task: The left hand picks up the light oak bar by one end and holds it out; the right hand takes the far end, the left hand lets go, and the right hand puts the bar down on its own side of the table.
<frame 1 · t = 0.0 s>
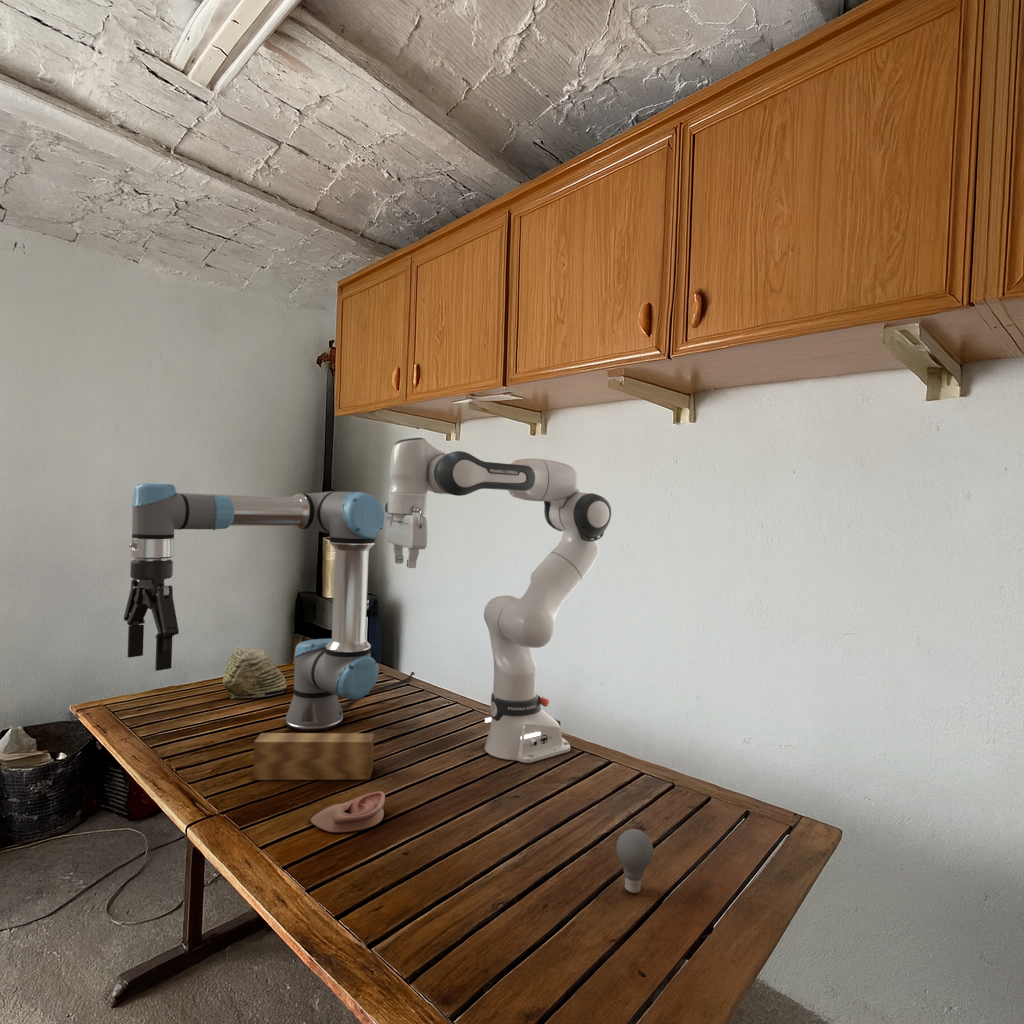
left hand: (148, 662, 129), 28 cm above the table, tool pointing down, fingers open, 13 cm apart
right hand: (404, 565, 149), 48 cm above the table, tool pointing down, fingers open, 8 cm apart
light bulb: (632, 891, 106), on the table
bar: (314, 774, 144), on the table
fossil: (254, 694, 198), on the table
anatomical model: (348, 819, 125), on the table
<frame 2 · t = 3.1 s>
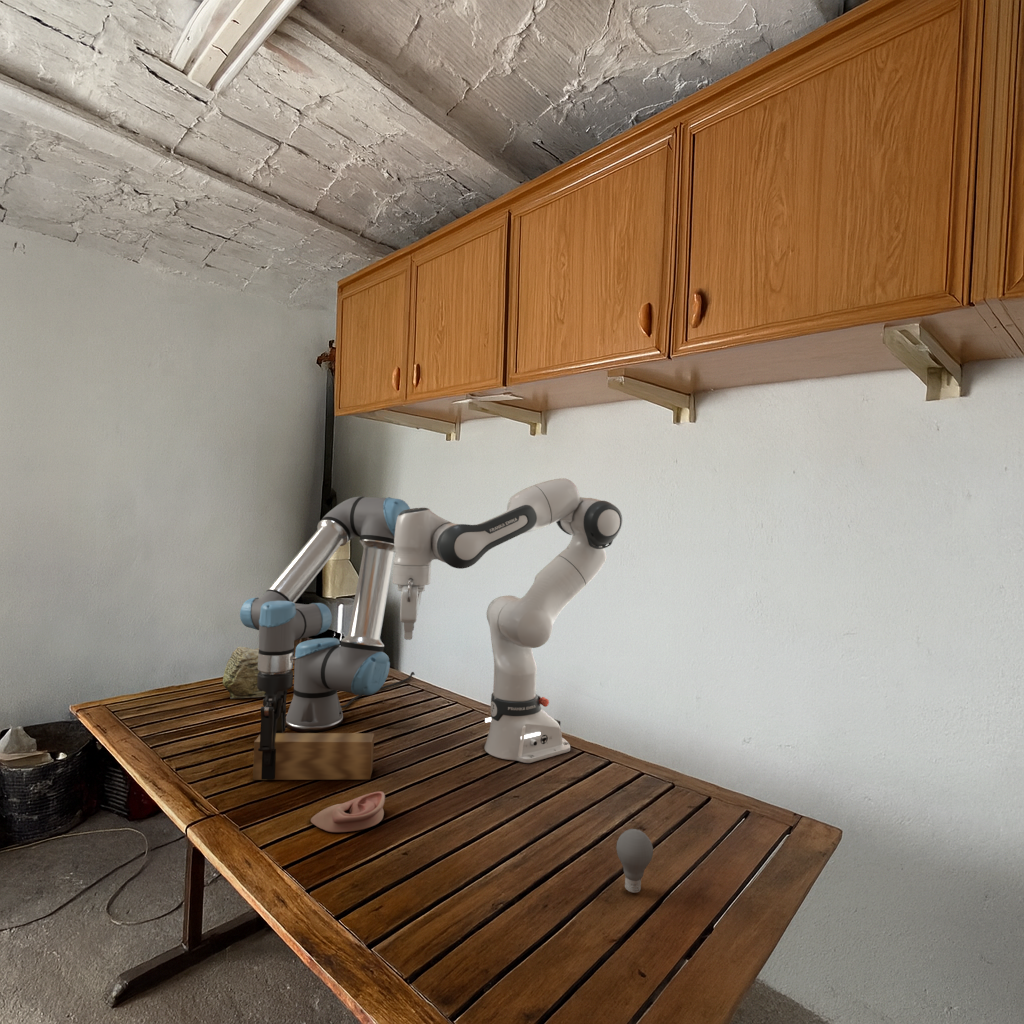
left hand: (271, 772, 143), 1 cm above the table, tool pointing down, fingers closed on bar, 5 cm apart
right hand: (409, 634, 150), 32 cm above the table, tool pointing down, fingers open, 8 cm apart
bar: (314, 774, 144), on the table, touching left hand
everything else where it was.
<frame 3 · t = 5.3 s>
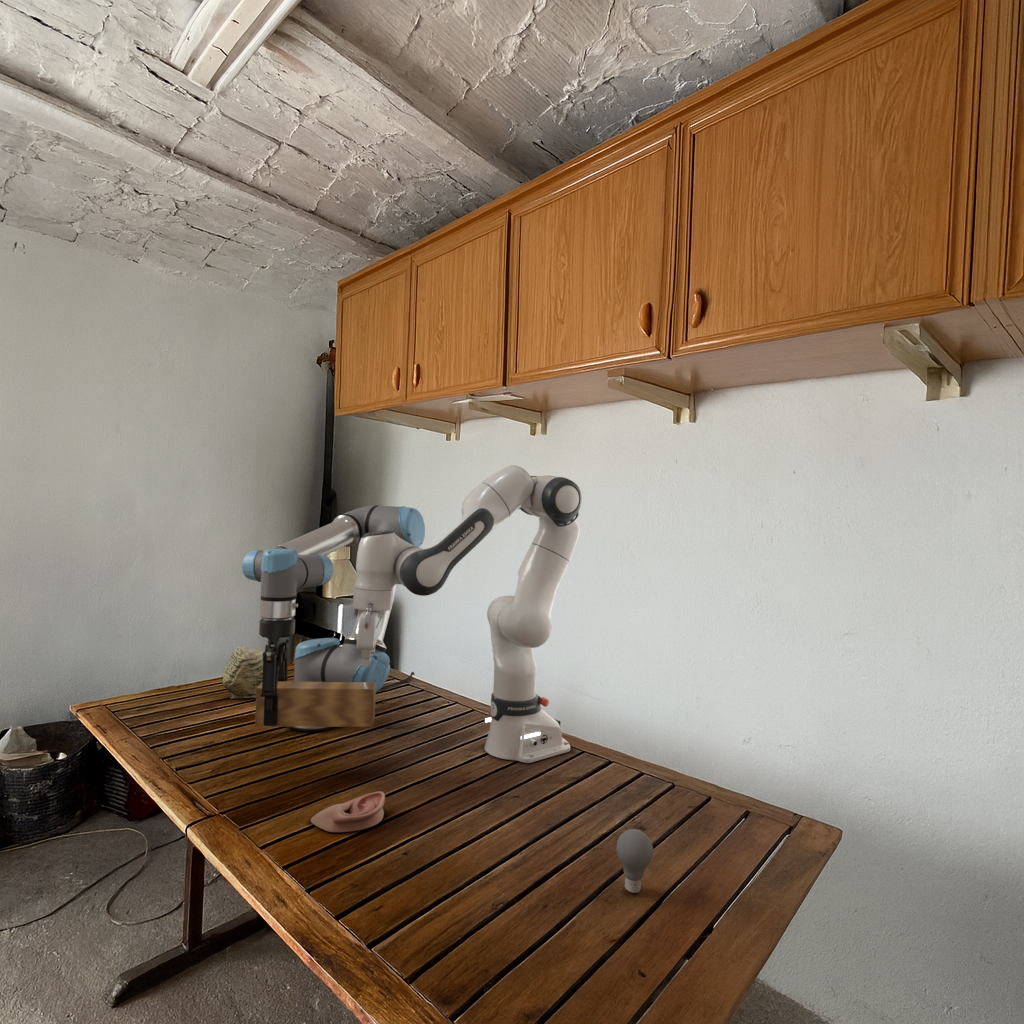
left hand: (273, 720, 143), 12 cm above the table, tool pointing down, fingers closed on bar, 5 cm apart
right hand: (367, 660, 145), 26 cm above the table, tool pointing down, fingers open, 8 cm apart
bar: (316, 722, 144), point 12 cm above the table, touching left hand
everything else where it was.
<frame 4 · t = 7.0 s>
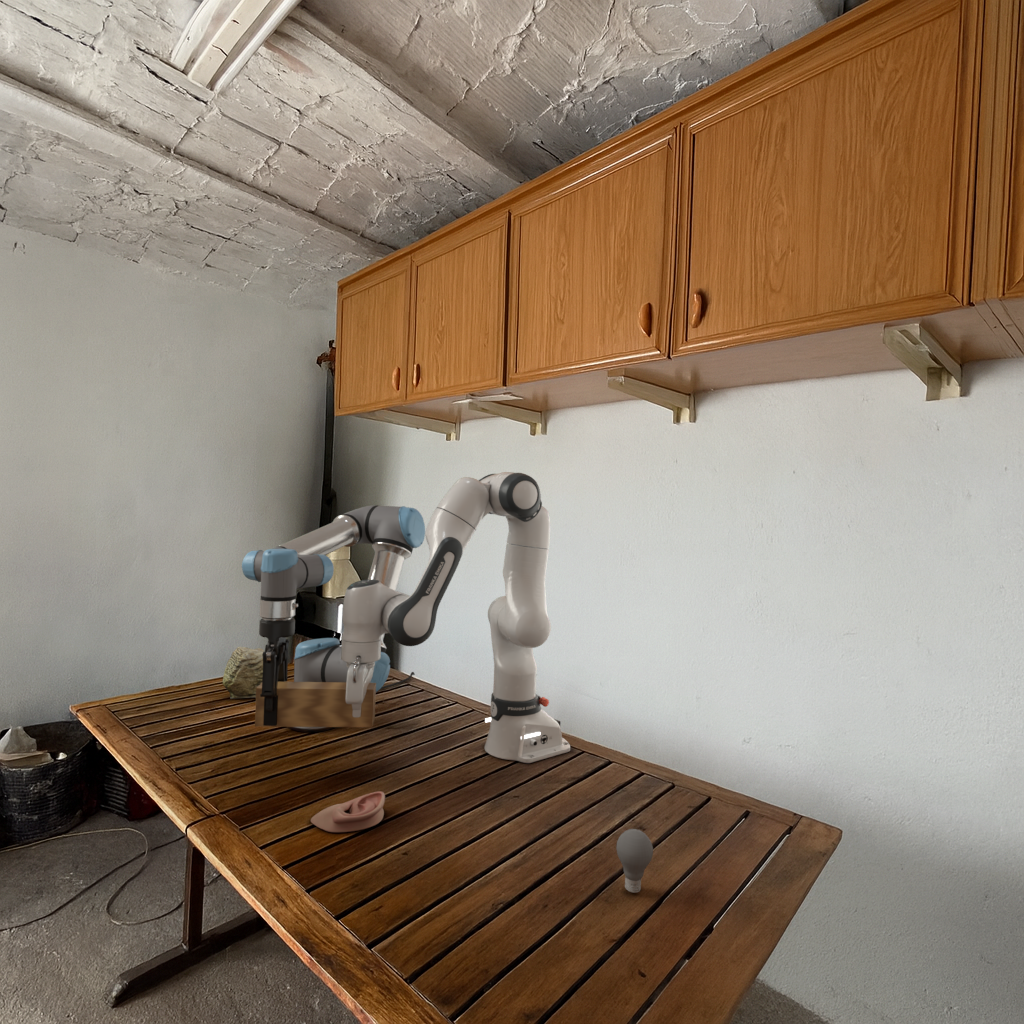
left hand: (273, 720, 143), 12 cm above the table, tool pointing down, fingers closed on bar, 5 cm apart
right hand: (358, 711, 145), 15 cm above the table, tool pointing down, fingers closed on bar, 5 cm apart
bar: (316, 722, 144), point 12 cm above the table, touching left hand, right hand
everything else where it was.
when the left hand's fingers open (12 cm above the table, at t = 7.8 s): bar stays where it is, held by the right hand.
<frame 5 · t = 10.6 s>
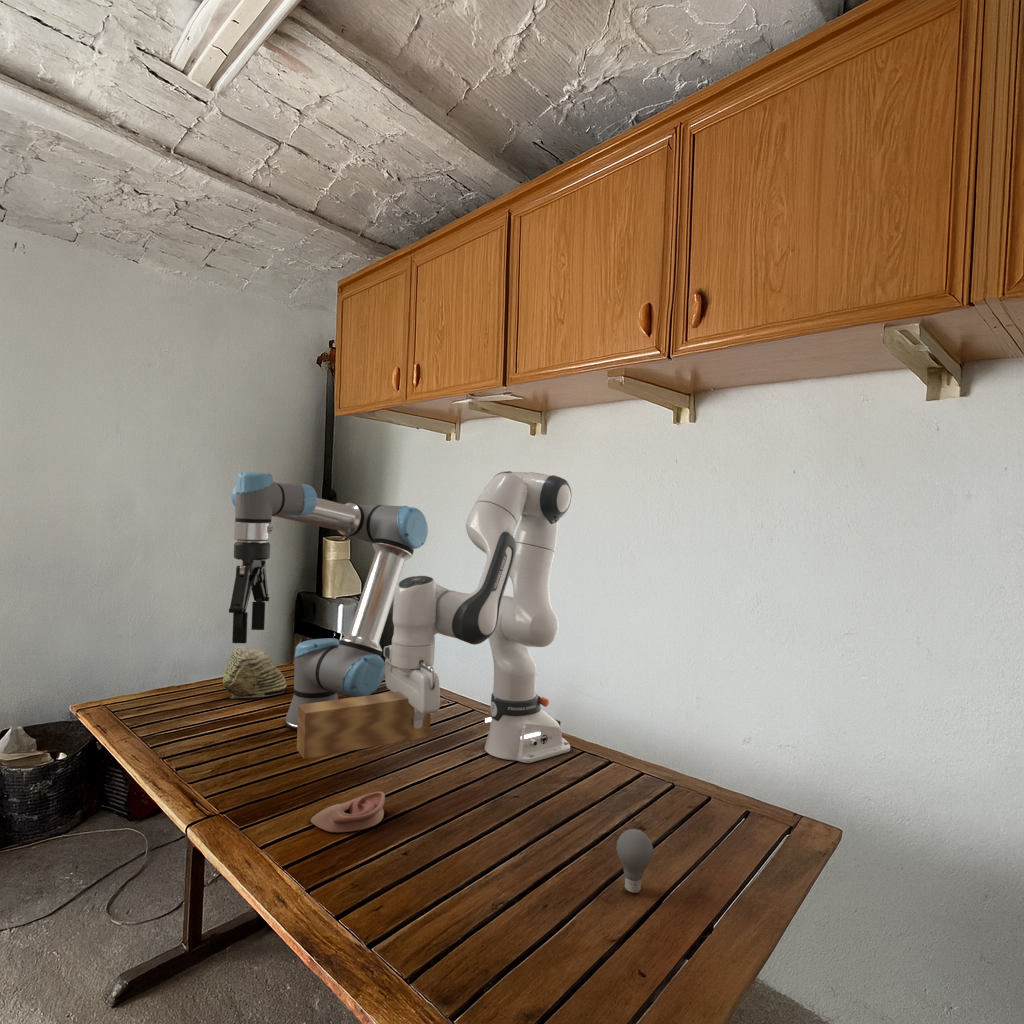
left hand: (249, 636, 142), 31 cm above the table, tool pointing down, fingers open, 13 cm apart
right hand: (410, 722, 131), 18 cm above the table, tool pointing down, fingers closed on bar, 5 cm apart
bar: (365, 742, 126), point 15 cm above the table, touching right hand
everything else where it was.
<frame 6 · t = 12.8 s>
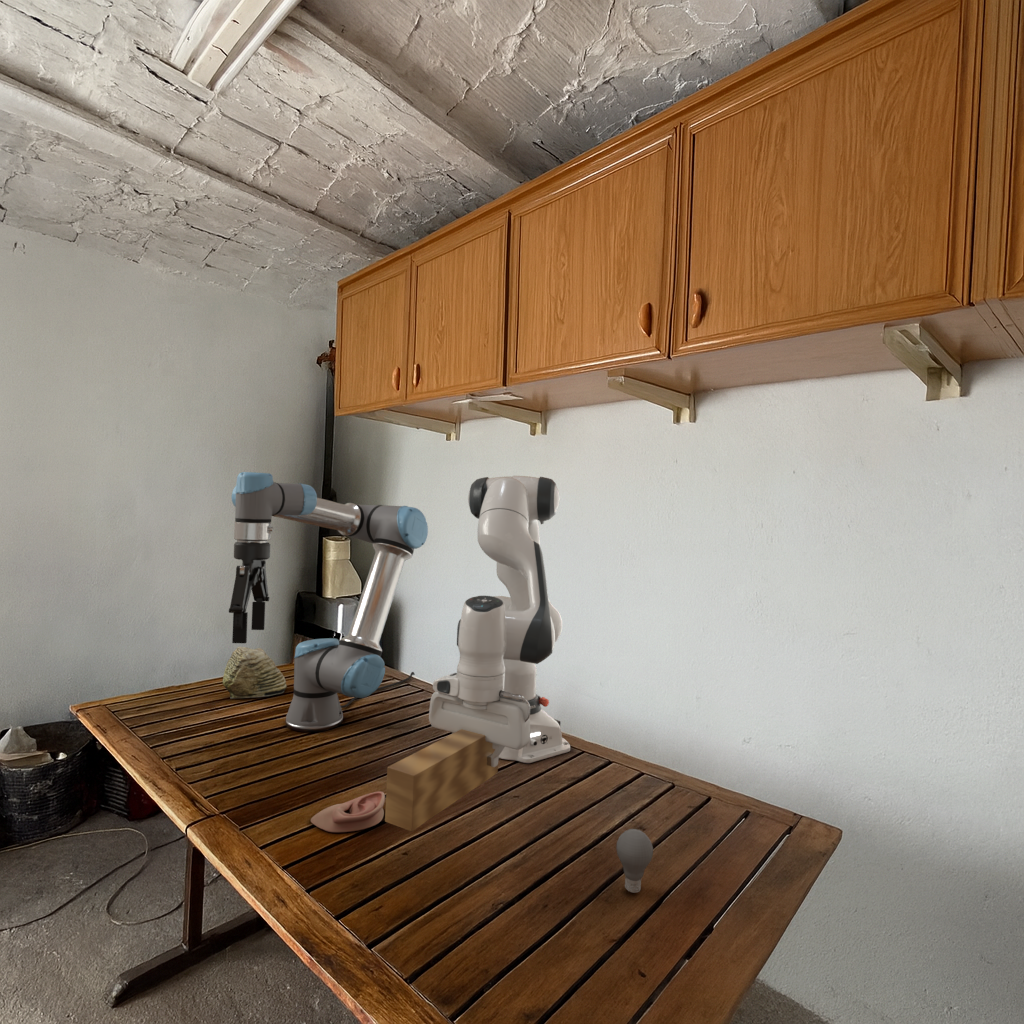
left hand: (249, 636, 142), 31 cm above the table, tool pointing down, fingers open, 13 cm apart
right hand: (476, 760, 116), 16 cm above the table, tool pointing down, fingers closed on bar, 5 cm apart
bar: (446, 795, 108), point 14 cm above the table, touching right hand
everything else where it was.
when the right hand's fingers open (4 cm above the table, at t = 14.5 s): bar stays where it is, on the table.
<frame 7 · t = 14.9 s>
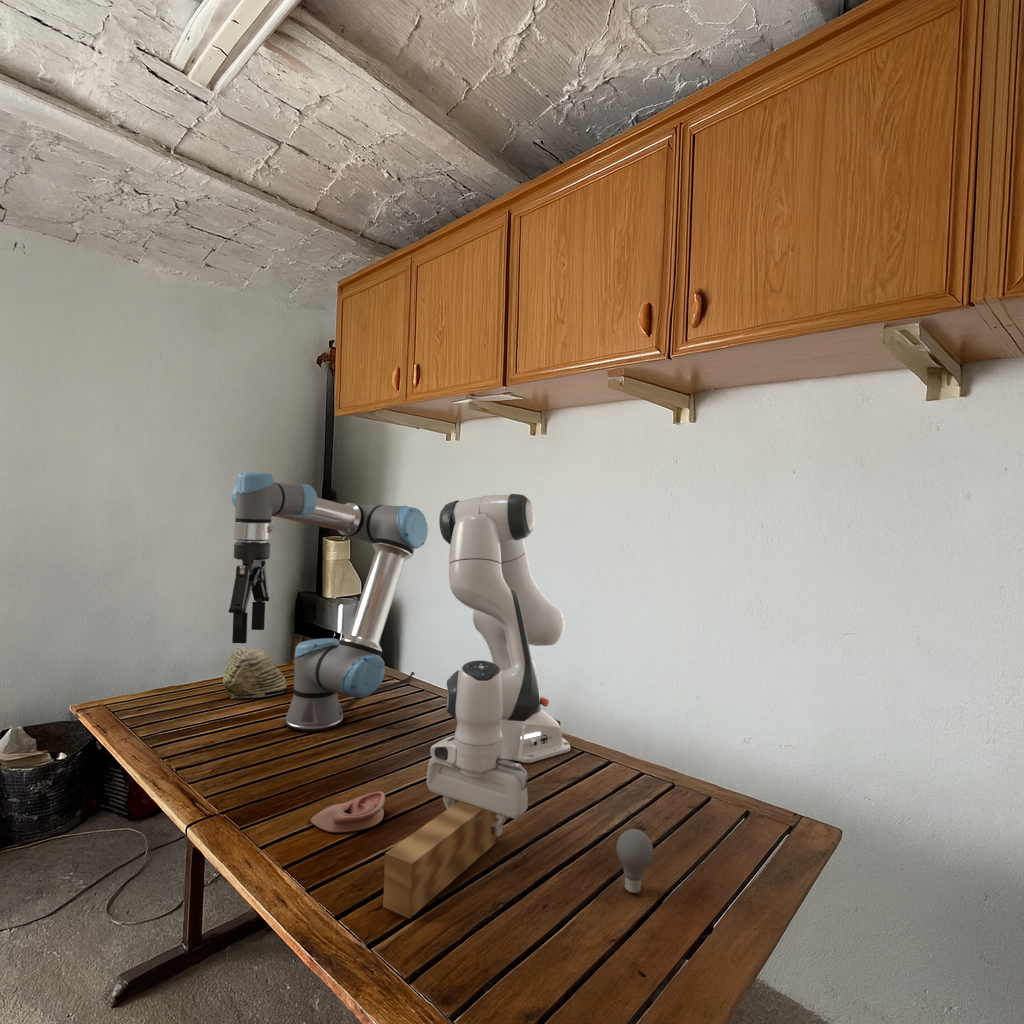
left hand: (249, 636, 142), 31 cm above the table, tool pointing down, fingers open, 13 cm apart
right hand: (474, 826, 117), 4 cm above the table, tool pointing down, fingers open, 8 cm apart
bar: (444, 872, 109), on the table
everything else where it was.
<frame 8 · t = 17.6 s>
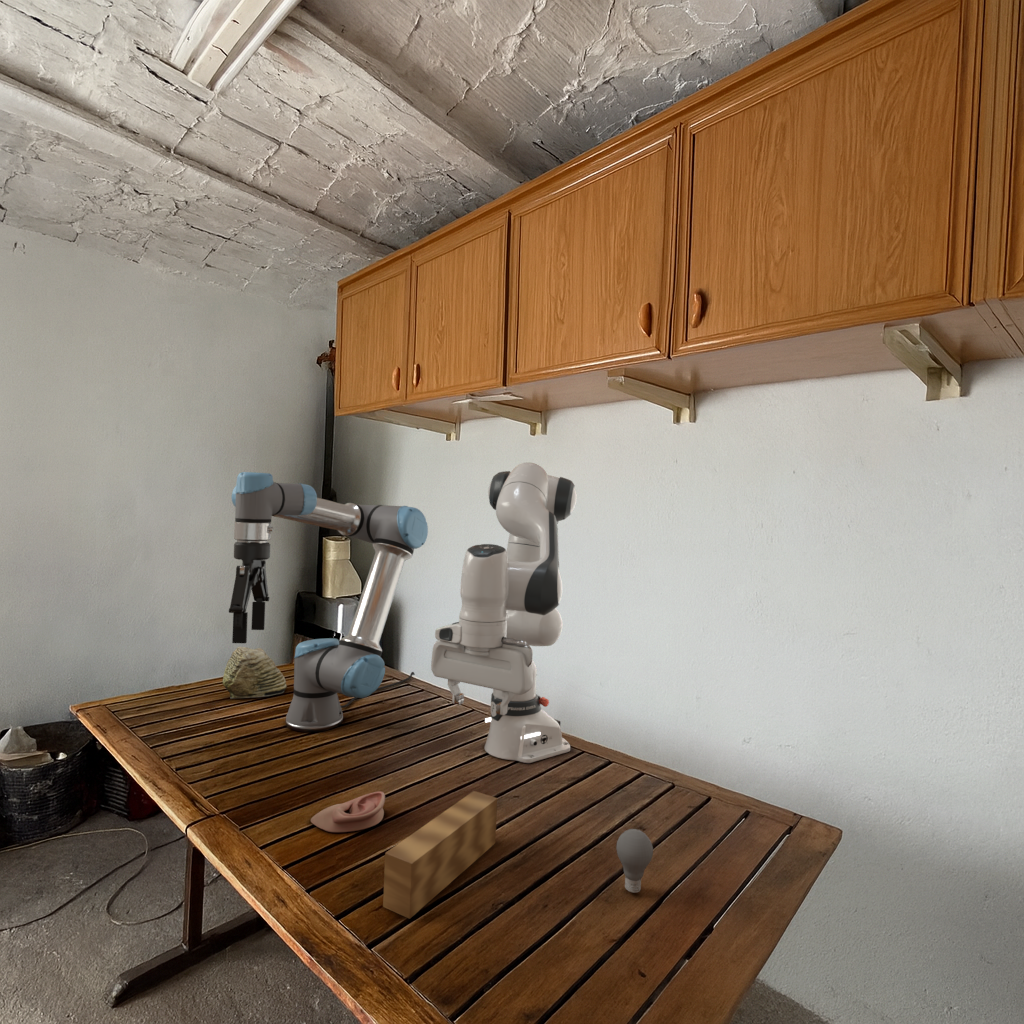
left hand: (249, 636, 142), 31 cm above the table, tool pointing down, fingers open, 13 cm apart
right hand: (479, 708, 116), 26 cm above the table, tool pointing down, fingers open, 8 cm apart
nothing on the table moved.
at the end: bar inside the target area (9.1 cm from its centre), on the table; the left hand is holding nothing; the right hand is holding nothing; bar at rest at the end (0.0 cm/s) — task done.
